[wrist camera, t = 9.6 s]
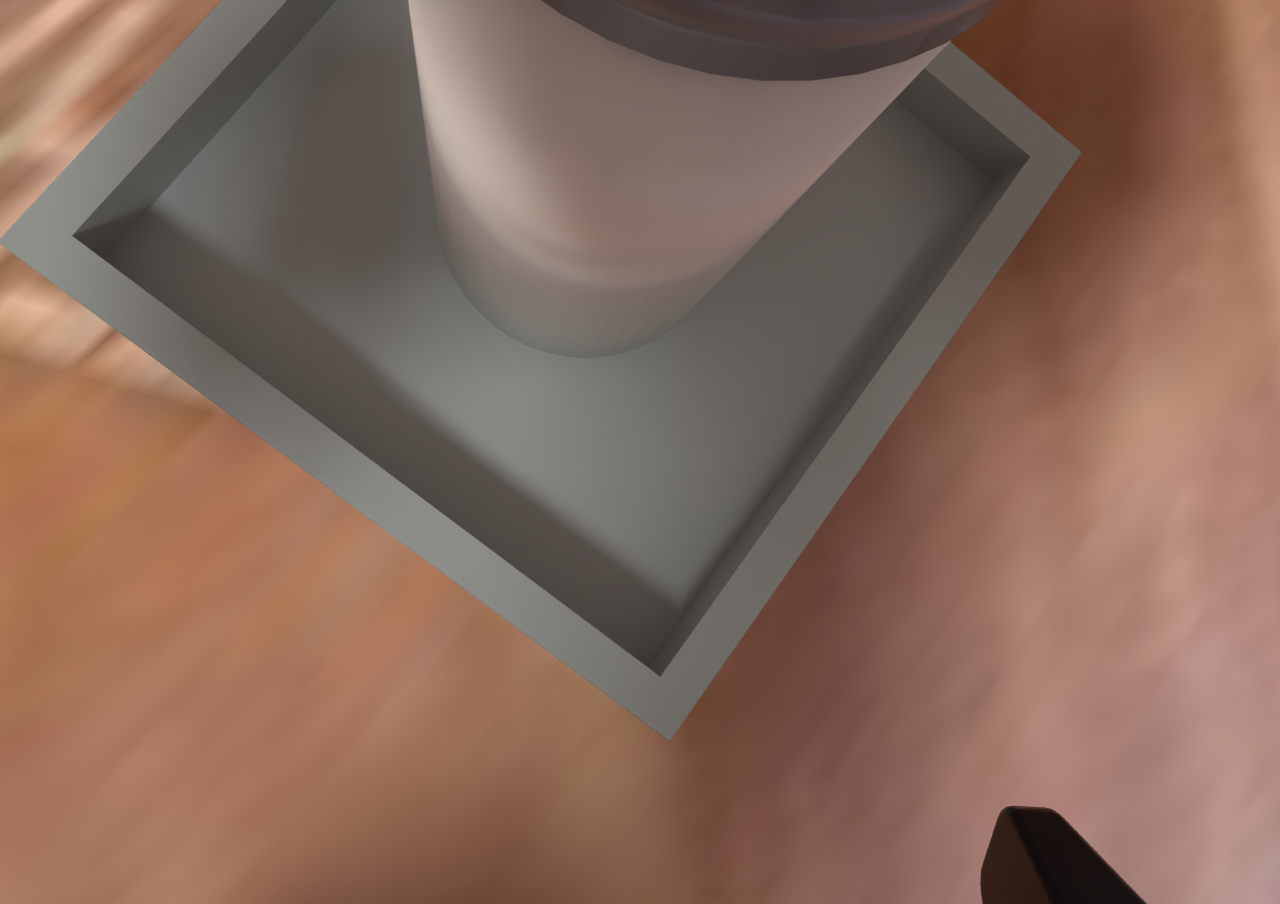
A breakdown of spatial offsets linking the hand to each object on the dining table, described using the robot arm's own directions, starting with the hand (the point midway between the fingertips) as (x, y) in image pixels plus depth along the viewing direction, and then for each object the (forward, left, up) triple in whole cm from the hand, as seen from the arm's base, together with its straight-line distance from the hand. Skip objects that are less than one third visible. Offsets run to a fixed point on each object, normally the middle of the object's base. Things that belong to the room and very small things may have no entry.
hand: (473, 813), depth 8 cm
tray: (+8, +4, -11) cm, 14 cm away
